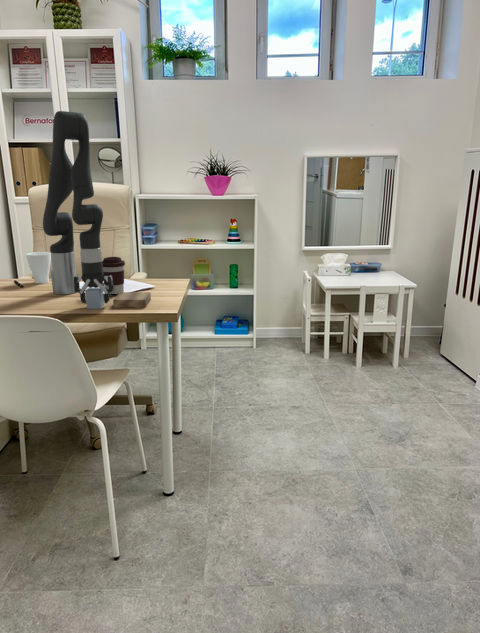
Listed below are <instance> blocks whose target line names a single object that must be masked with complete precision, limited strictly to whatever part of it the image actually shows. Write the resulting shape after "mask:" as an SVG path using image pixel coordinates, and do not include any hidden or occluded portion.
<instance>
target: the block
mask: <svg viewBox="0 0 480 633" xmlns="http://www.w3.org/2000/svg"><path fill="white" fill-rule="evenodd" d="M85 296H86V308H87V310H95V309H97V310H102V308H103V307H104V306H105V301H104V292H103V291H102V290H101V289H100V288H99V287H98V288H95V287H91V288H89V287H87V289H86V290H85Z"/></svg>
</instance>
